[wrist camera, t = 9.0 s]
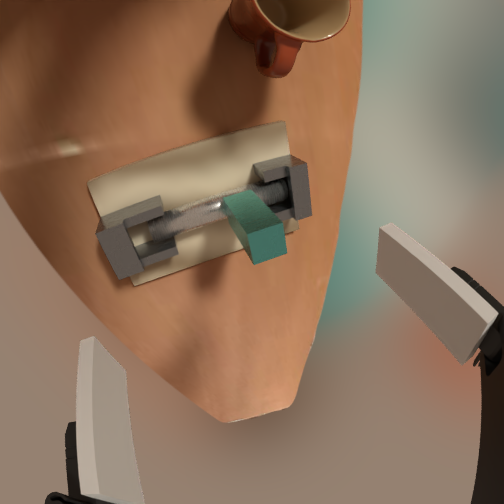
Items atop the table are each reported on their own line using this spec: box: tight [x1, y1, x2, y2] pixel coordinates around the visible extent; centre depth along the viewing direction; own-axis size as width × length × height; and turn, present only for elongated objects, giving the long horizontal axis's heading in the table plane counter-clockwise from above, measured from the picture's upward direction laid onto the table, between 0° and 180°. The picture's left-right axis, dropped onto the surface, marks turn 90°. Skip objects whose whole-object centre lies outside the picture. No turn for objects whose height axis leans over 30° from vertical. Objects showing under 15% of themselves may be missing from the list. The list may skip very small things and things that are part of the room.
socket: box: [253, 154, 312, 221], centre depth 32 cm, size 6×4×4 cm
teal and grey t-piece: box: [147, 178, 288, 265], centre depth 28 cm, size 3×15×11 cm, turn 101°
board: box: [87, 121, 299, 286], centre depth 32 cm, size 14×22×1 cm, turn 101°
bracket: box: [95, 195, 179, 280], centre depth 29 cm, size 6×7×4 cm
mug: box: [228, 0, 351, 78], centre depth 20 cm, size 12×9×10 cm
